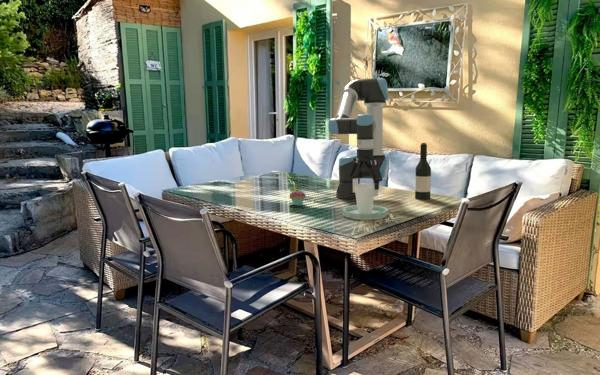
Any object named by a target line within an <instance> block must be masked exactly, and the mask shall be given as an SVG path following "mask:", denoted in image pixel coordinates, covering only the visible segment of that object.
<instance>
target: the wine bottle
mask: <svg viewBox="0 0 600 375" xmlns="http://www.w3.org/2000/svg"><path fill="white" fill-rule="evenodd" d="M427 154H428V144H427V143H426V142H421V144H420V158H419V162H418V163H417V165H416V166H415V176H414V178H415V182H414V189H415V190H414V198H415V200H420V201H423V200H425V201H427V200H430V199H431V185H432V184H431V183H432V178H431V176H432V167H431V165H430V164H429V162H428V161H427V159H428V158H427V156H428V155H427Z"/></svg>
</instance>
